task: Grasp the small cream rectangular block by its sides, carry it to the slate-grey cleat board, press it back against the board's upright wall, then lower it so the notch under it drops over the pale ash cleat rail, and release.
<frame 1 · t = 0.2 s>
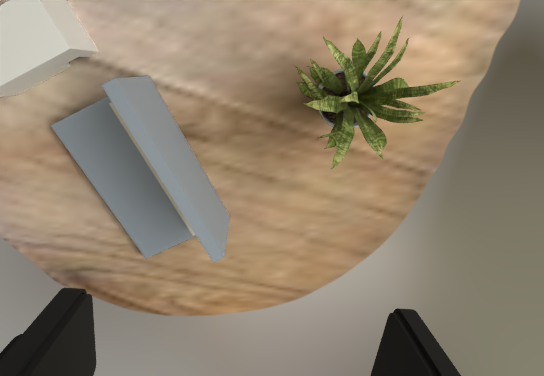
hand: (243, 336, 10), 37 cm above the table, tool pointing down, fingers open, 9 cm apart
cleat board: (155, 170, 46), on the table
house plant: (341, 87, 44), on the table
cream rectangular block: (42, 50, 40), on the table
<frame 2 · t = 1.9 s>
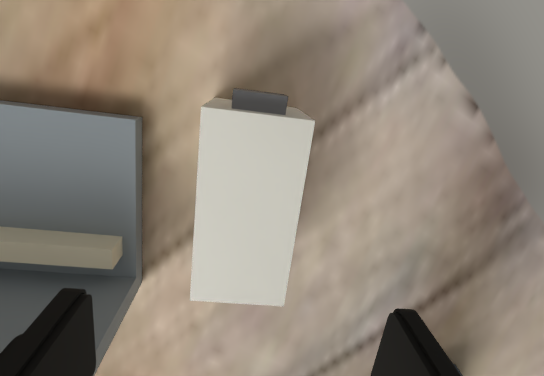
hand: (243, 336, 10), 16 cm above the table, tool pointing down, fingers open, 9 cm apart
cream rectangular block: (247, 181, 26), on the table
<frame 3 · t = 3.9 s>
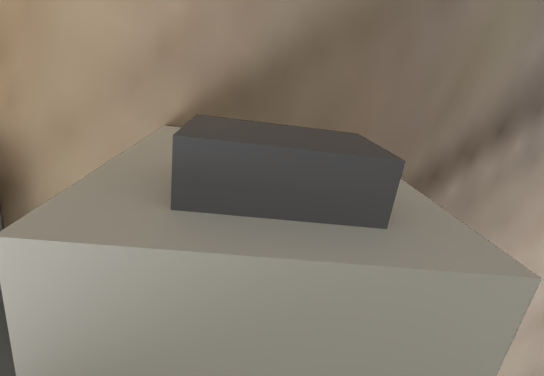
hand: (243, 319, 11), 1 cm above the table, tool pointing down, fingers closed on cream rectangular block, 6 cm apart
cream rectangular block: (244, 297, 12), on the table, touching gripper
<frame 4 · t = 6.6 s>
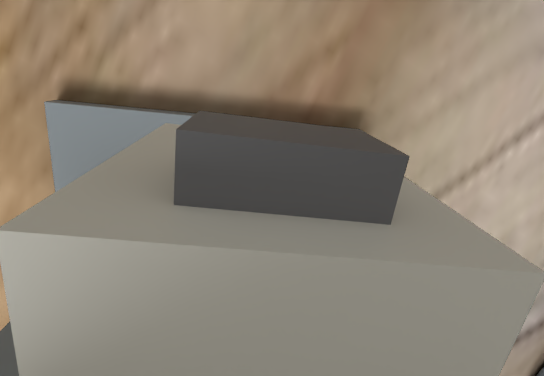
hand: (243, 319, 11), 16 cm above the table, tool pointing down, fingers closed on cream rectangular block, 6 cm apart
cleat board: (210, 214, 27), on the table
cream rectangular block: (245, 295, 12), point 15 cm above the table, touching gripper
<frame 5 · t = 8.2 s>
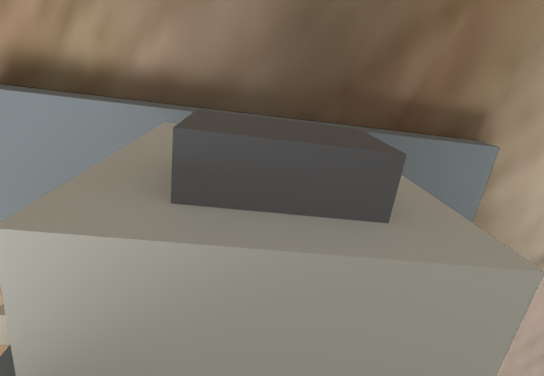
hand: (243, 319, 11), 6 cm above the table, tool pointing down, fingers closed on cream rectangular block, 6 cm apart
cleat board: (239, 264, 18), on the table
cream rectangular block: (244, 295, 12), point 5 cm above the table, touching gripper
when the fingers open (3 cm above the table, at t = 9.4 s): cream rectangular block stays where it is, resting on cleat board.
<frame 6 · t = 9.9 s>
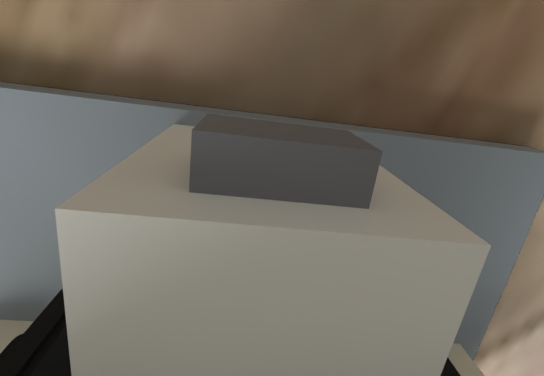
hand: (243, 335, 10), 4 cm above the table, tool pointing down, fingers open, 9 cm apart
cleat board: (241, 291, 15), on the table
cream rectangular block: (247, 284, 13), point 1 cm above the table, touching cleat board
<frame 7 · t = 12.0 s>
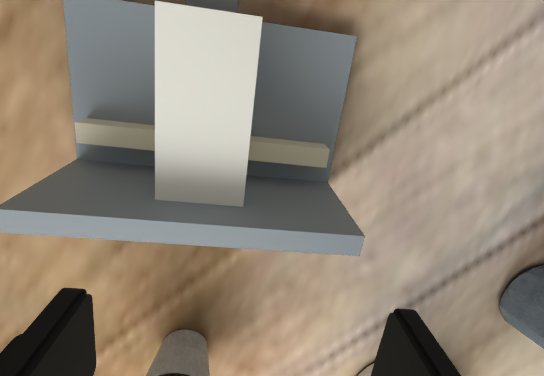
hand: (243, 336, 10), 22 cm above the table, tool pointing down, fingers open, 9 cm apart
cleat board: (212, 118, 29), on the table
house plant: (189, 353, 39), on the table
cream rectangular block: (213, 102, 27), point 1 cm above the table, touching cleat board
moka pot: (527, 294, 40), on the table
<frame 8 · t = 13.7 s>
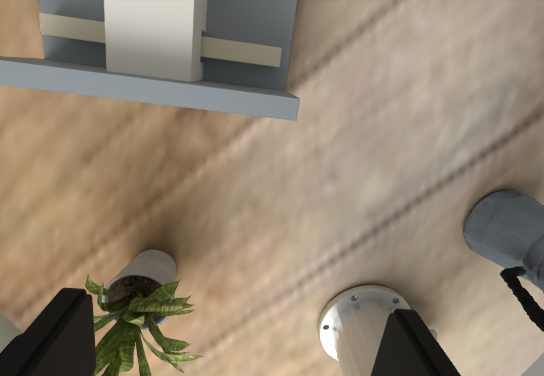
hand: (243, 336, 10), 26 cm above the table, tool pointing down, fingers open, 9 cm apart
cleat board: (174, 24, 31), on the table
house plant: (159, 276, 40), on the table
cream rectangular block: (172, 3, 29), point 1 cm above the table, touching cleat board
moka pot: (492, 223, 40), on the table
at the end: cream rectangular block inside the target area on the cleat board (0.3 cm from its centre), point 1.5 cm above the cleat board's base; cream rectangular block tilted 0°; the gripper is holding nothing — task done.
